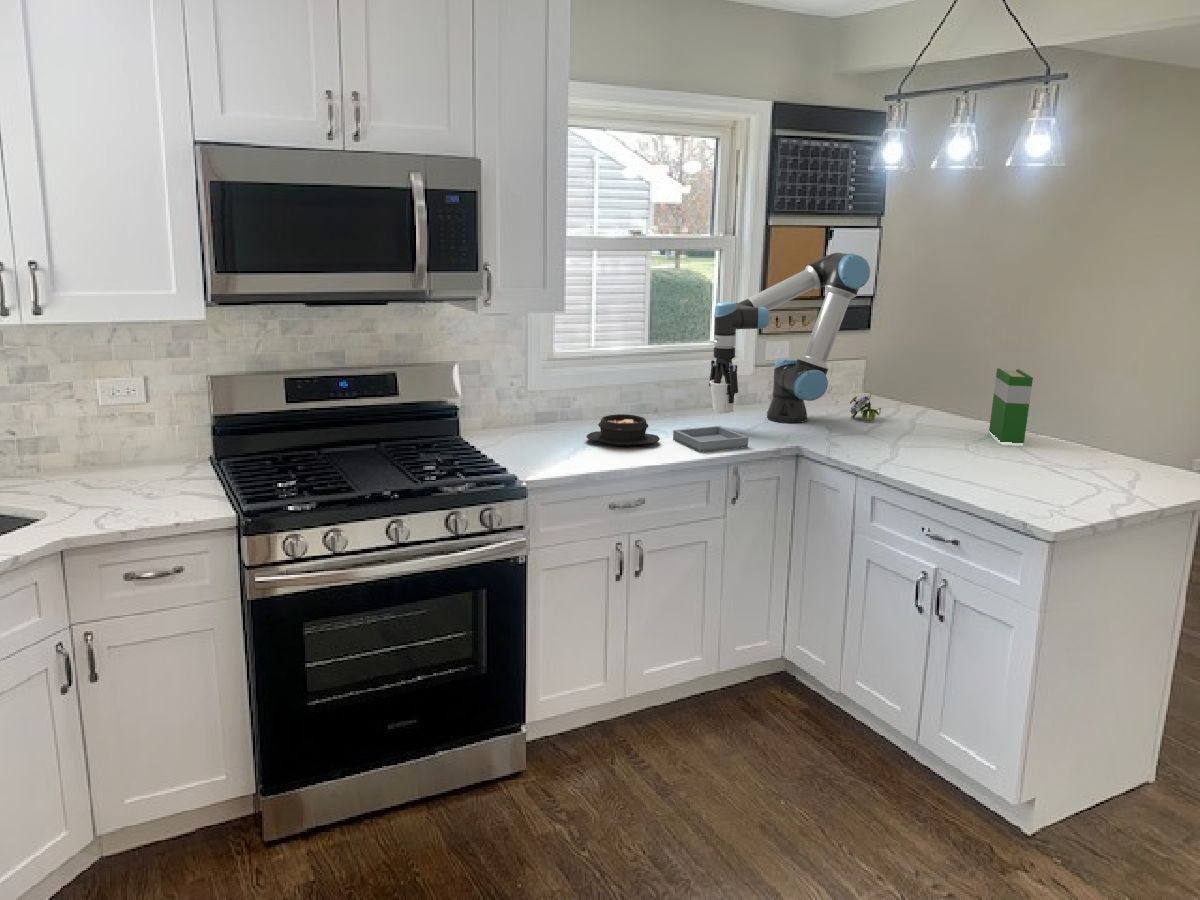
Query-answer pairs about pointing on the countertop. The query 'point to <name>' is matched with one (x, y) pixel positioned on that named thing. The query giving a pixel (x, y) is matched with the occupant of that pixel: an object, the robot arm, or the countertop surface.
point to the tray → (710, 438)
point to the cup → (719, 396)
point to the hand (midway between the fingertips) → (722, 409)
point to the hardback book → (1010, 405)
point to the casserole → (623, 431)
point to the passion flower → (861, 405)
